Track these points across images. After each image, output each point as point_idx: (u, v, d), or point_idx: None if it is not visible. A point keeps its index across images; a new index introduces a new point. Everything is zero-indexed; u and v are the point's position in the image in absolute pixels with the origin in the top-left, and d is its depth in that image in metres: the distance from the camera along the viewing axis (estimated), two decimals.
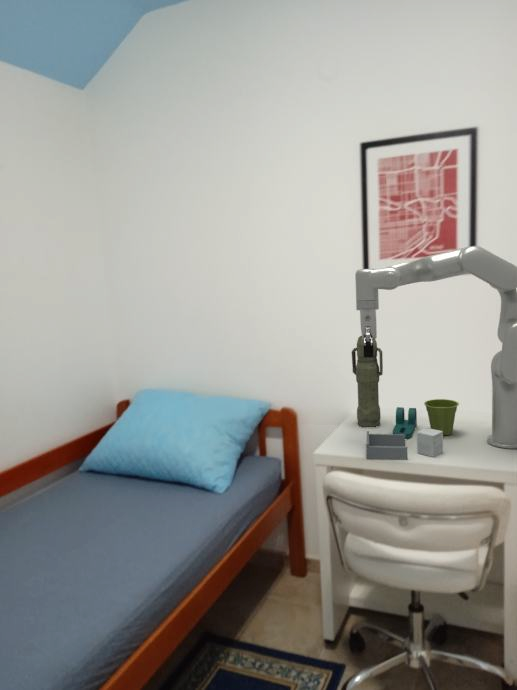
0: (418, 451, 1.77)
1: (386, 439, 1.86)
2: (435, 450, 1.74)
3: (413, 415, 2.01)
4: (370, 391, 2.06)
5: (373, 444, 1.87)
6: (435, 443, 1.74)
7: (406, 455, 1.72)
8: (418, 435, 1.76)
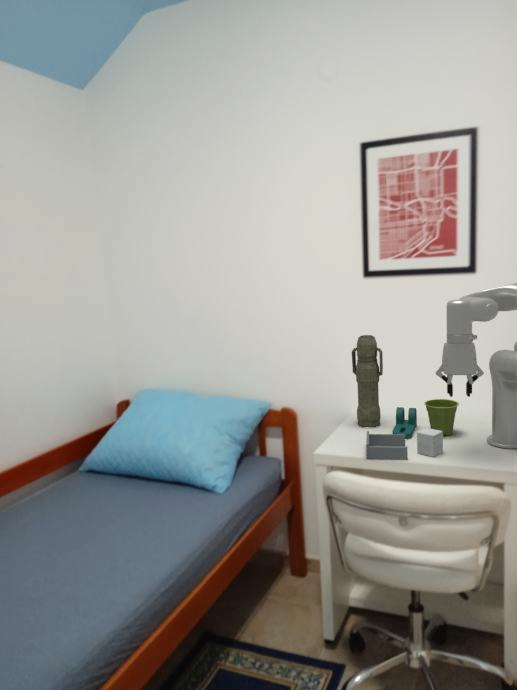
0: (418, 451, 1.77)
1: (386, 439, 1.86)
2: (435, 450, 1.74)
3: (413, 415, 2.01)
4: (370, 391, 2.06)
5: (373, 444, 1.87)
6: (435, 443, 1.74)
7: (406, 455, 1.72)
8: (418, 435, 1.76)
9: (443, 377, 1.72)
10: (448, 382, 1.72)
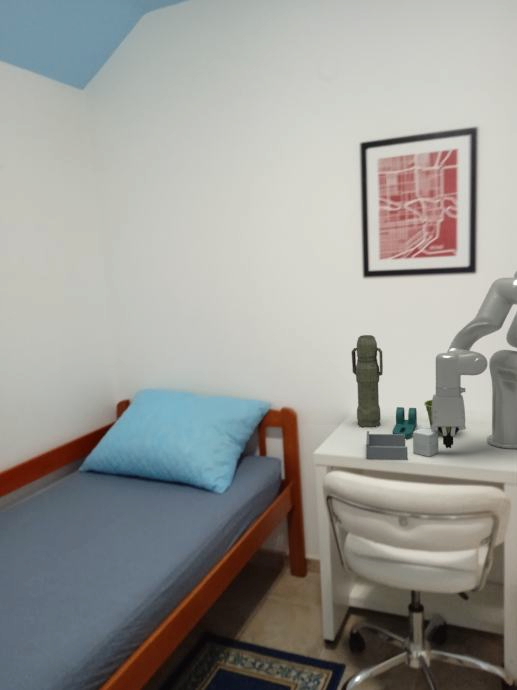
0: (414, 451, 1.77)
1: (386, 439, 1.86)
2: (431, 450, 1.74)
3: (413, 415, 2.01)
4: (370, 391, 2.06)
5: (373, 444, 1.87)
6: (431, 443, 1.74)
7: (406, 455, 1.72)
8: (414, 435, 1.77)
9: (439, 429, 1.75)
10: (444, 434, 1.74)
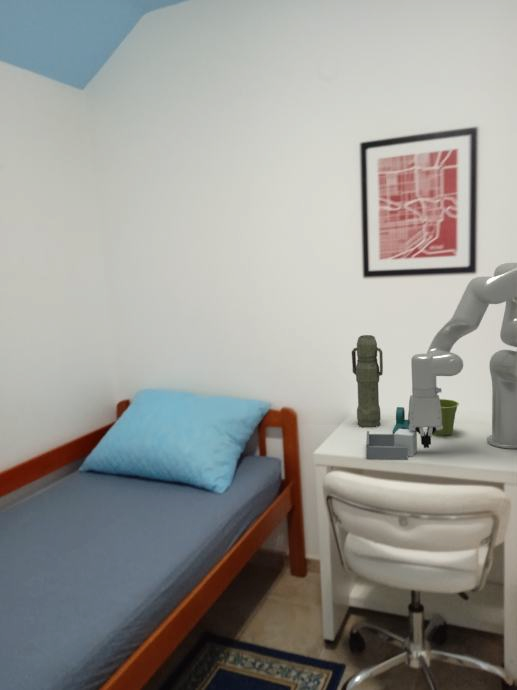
0: None
1: (386, 439, 1.86)
2: (413, 449, 1.76)
3: None
4: (370, 391, 2.06)
5: (373, 444, 1.87)
6: (413, 443, 1.75)
7: (406, 455, 1.72)
8: (395, 436, 1.76)
9: (417, 429, 1.76)
10: (422, 434, 1.76)
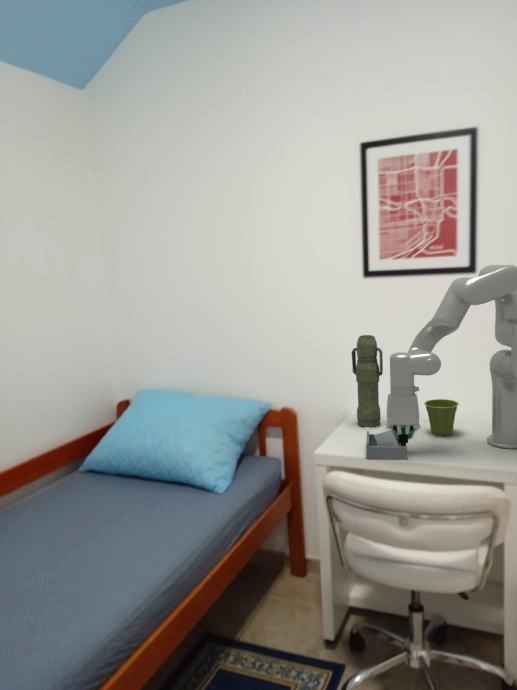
0: None
1: None
2: (397, 443, 1.76)
3: None
4: (370, 391, 2.06)
5: (373, 444, 1.87)
6: (394, 437, 1.76)
7: (406, 455, 1.72)
8: (376, 437, 1.77)
9: (394, 427, 1.77)
10: (399, 432, 1.77)
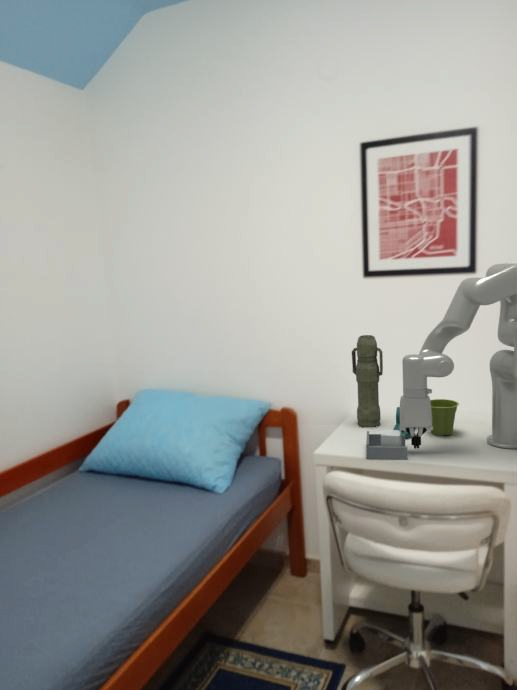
0: None
1: None
2: None
3: None
4: (370, 391, 2.06)
5: (373, 444, 1.87)
6: (400, 443, 1.75)
7: (406, 455, 1.72)
8: (382, 438, 1.76)
9: (407, 429, 1.77)
10: (412, 434, 1.77)
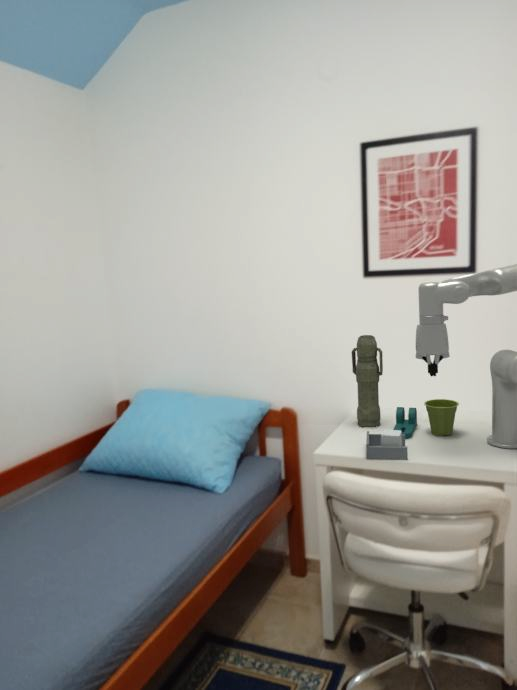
0: None
1: None
2: None
3: (413, 415, 2.01)
4: (370, 391, 2.06)
5: (373, 444, 1.87)
6: (400, 443, 1.75)
7: (406, 455, 1.72)
8: (382, 438, 1.76)
9: (424, 357, 1.78)
10: (428, 362, 1.78)
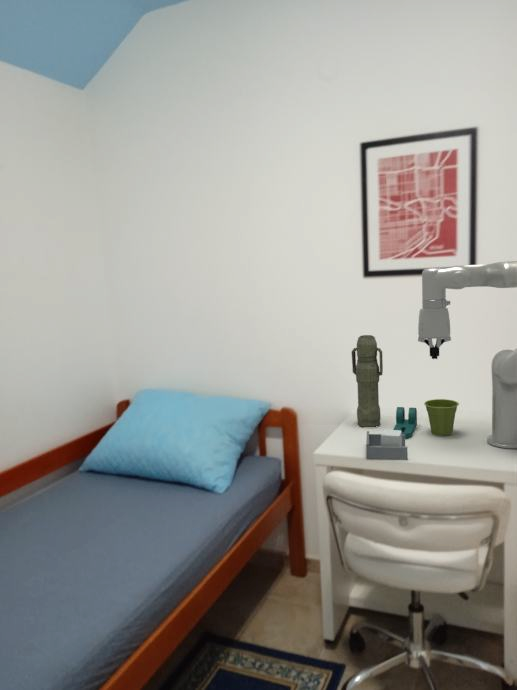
0: None
1: None
2: None
3: (413, 415, 2.01)
4: (370, 391, 2.06)
5: (373, 444, 1.87)
6: (400, 443, 1.75)
7: (406, 455, 1.72)
8: (382, 438, 1.76)
9: (426, 341, 1.84)
10: (430, 345, 1.84)
